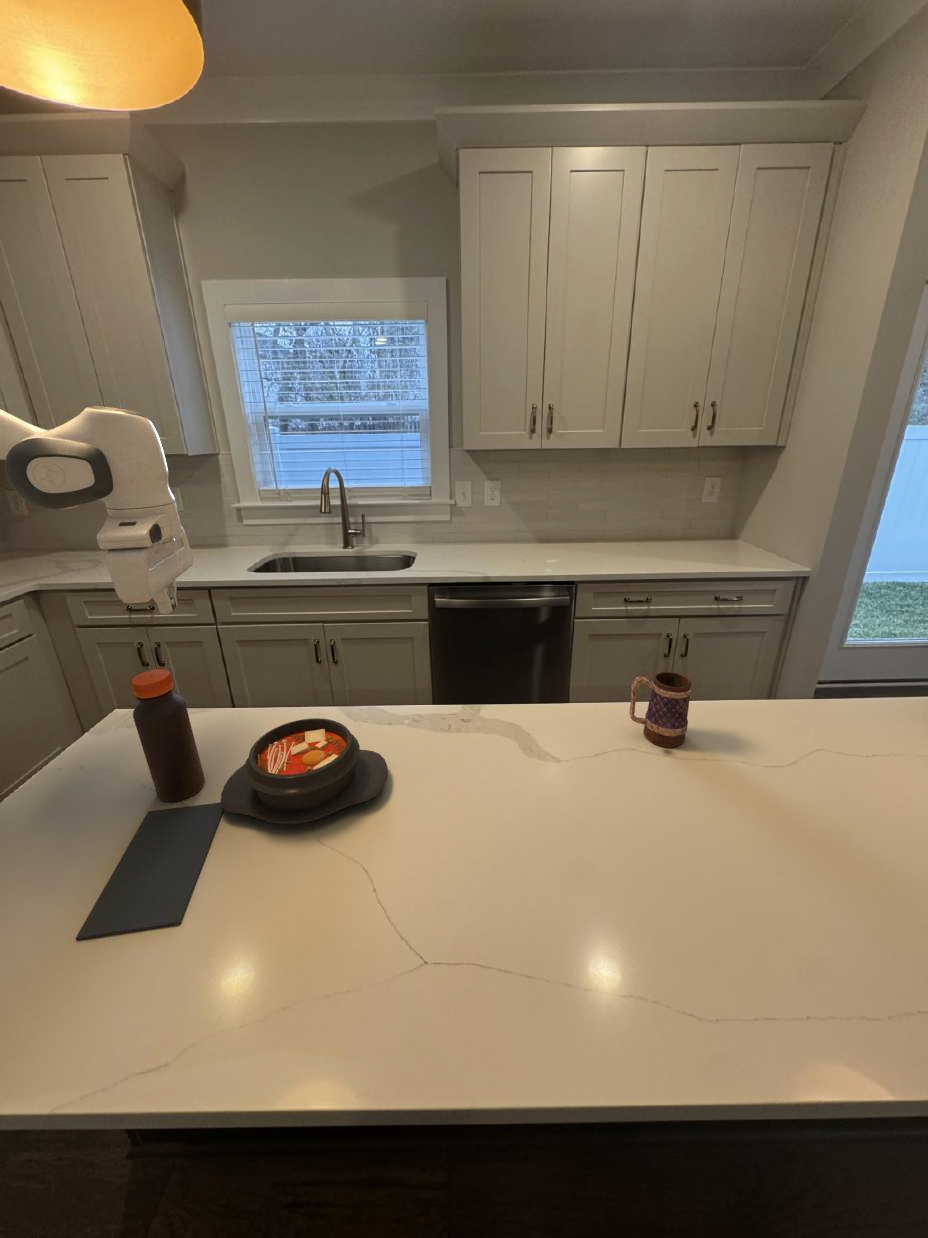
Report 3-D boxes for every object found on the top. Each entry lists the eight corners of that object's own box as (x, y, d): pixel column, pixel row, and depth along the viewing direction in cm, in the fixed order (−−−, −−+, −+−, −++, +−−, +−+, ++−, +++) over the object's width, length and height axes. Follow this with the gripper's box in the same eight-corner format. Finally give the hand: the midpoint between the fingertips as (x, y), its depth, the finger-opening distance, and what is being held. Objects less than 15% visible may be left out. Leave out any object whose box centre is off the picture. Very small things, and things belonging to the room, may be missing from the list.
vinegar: (161, 780, 82) (128, 670, 75) (207, 770, 84) (180, 662, 77) (153, 808, 76) (117, 692, 69) (203, 796, 78) (173, 683, 71)
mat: (76, 940, 57) (75, 938, 57) (148, 813, 75) (148, 811, 75) (180, 924, 59) (179, 922, 58) (226, 803, 77) (226, 801, 77)
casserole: (204, 843, 70) (190, 794, 67) (244, 758, 87) (234, 717, 84) (386, 826, 72) (382, 778, 69) (390, 747, 89) (386, 706, 86)
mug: (678, 726, 94) (688, 668, 89) (690, 749, 87) (700, 688, 83) (621, 723, 95) (628, 666, 90) (628, 746, 88) (636, 686, 84)
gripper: (152, 512, 85) (172, 591, 90) (89, 540, 66) (118, 637, 71) (192, 510, 85) (209, 588, 91) (141, 537, 67) (166, 633, 72)
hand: (169, 610), depth 81 cm, fingers closed
